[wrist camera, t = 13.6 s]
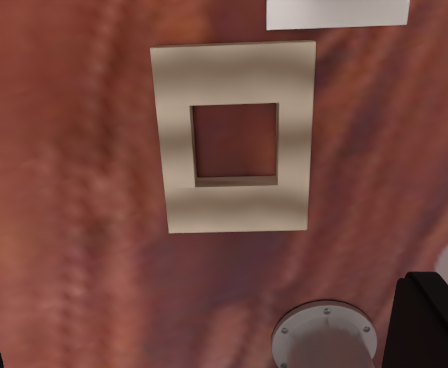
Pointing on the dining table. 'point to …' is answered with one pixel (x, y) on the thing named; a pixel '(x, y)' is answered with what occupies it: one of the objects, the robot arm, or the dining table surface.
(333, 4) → the plate
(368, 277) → the dining table surface
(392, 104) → the dining table surface
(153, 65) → the frame
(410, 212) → the dining table surface
